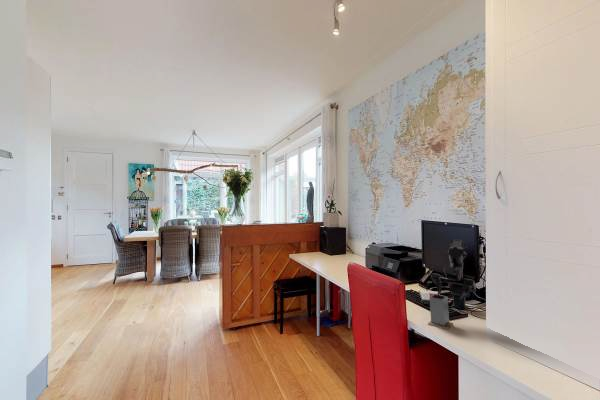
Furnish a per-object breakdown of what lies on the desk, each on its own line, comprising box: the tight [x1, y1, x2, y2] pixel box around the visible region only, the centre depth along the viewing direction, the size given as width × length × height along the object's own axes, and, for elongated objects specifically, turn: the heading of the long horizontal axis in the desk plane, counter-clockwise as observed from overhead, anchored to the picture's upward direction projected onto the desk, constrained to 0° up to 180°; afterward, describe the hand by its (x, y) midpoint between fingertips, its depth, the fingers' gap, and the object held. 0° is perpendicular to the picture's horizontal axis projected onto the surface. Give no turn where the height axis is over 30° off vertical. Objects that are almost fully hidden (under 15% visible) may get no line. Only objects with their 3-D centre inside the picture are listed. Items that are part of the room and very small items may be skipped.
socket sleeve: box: [429, 294, 450, 326], centre depth 124 cm, size 6×6×12 cm
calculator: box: [418, 290, 438, 303], centre depth 154 cm, size 11×4×15 cm
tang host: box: [427, 320, 454, 331], centre depth 124 cm, size 8×8×4 cm
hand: (448, 296), depth 124 cm, fingers open, 9 cm apart
